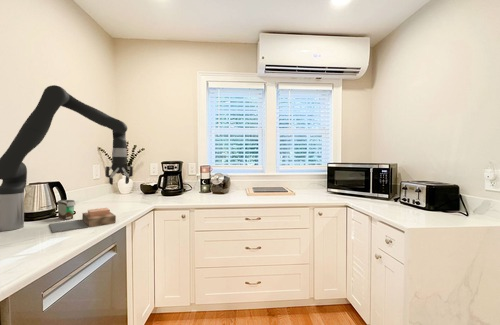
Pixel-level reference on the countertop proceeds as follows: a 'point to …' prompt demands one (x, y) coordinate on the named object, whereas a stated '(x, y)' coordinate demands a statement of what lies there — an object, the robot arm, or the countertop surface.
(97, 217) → the board
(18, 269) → the countertop surface
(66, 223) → the mat
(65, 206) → the food container
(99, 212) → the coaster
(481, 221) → the countertop surface
